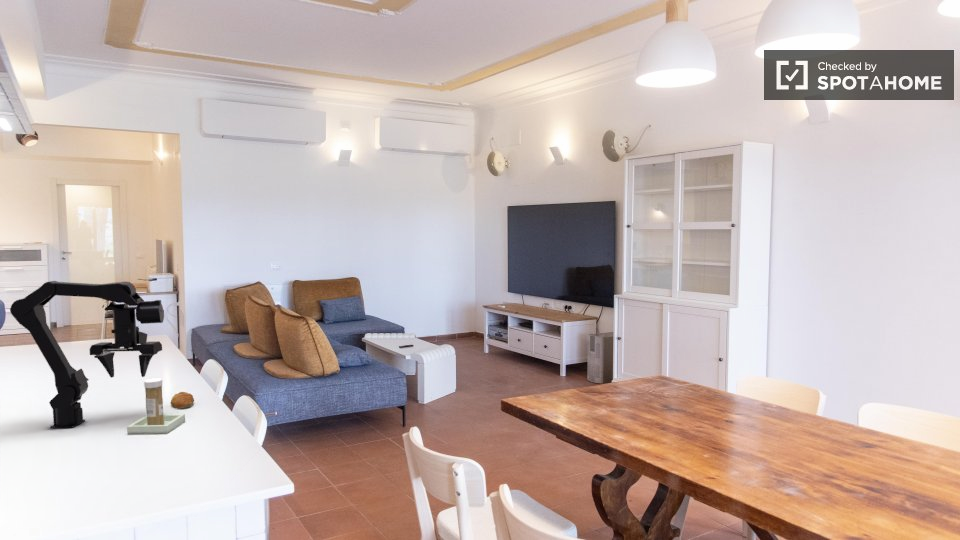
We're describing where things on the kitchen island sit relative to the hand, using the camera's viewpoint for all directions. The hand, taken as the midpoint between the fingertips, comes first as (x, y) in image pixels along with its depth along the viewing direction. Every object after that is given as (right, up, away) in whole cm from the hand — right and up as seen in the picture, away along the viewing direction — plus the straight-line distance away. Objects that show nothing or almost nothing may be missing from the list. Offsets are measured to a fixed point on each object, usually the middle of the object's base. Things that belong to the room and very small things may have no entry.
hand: (127, 376), depth 192 cm
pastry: (+9, -12, +17) cm, 22 cm away
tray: (+12, -13, -7) cm, 19 cm away
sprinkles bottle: (+12, -13, -7) cm, 19 cm away
